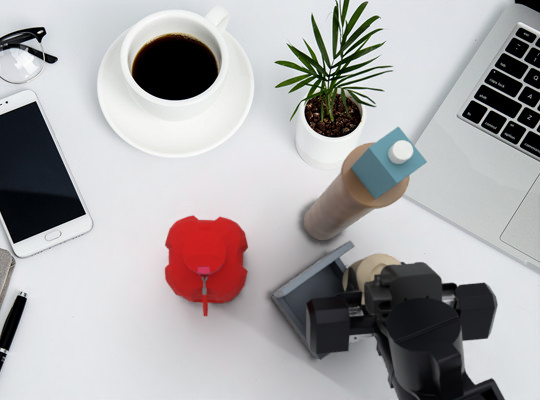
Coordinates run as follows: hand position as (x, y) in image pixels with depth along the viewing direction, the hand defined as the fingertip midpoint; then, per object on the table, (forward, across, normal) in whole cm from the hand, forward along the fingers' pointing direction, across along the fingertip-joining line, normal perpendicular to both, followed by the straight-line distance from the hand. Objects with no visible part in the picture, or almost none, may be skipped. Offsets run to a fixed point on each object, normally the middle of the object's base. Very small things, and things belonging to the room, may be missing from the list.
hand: (375, 267), depth 70 cm
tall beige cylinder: (+15, +3, +4) cm, 16 cm away
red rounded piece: (+11, +19, +8) cm, 24 cm away
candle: (+4, 0, +6) cm, 7 cm away
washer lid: (+1, +7, +1) cm, 7 cm away
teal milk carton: (-7, +3, -17) cm, 19 cm away
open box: (+7, +5, +12) cm, 14 cm away
